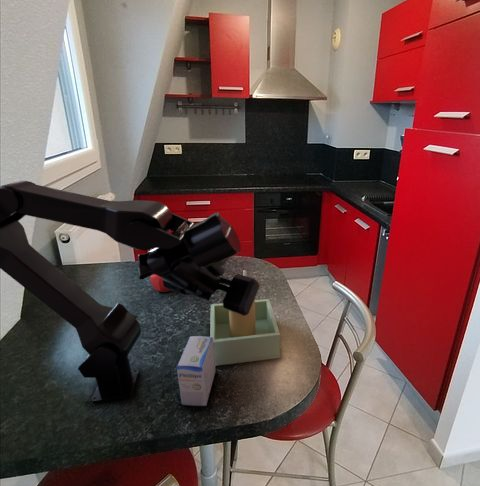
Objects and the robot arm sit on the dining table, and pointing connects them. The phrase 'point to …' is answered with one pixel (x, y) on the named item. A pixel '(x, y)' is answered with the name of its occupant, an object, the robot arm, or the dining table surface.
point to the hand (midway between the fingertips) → (230, 297)
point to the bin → (245, 346)
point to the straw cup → (243, 321)
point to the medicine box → (196, 371)
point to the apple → (158, 283)
